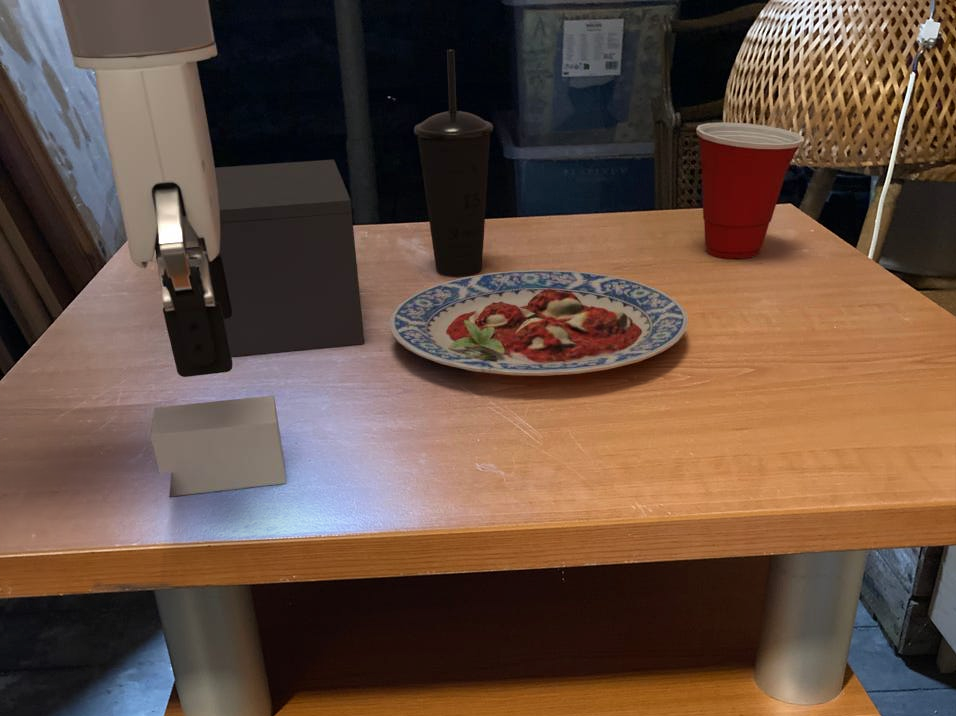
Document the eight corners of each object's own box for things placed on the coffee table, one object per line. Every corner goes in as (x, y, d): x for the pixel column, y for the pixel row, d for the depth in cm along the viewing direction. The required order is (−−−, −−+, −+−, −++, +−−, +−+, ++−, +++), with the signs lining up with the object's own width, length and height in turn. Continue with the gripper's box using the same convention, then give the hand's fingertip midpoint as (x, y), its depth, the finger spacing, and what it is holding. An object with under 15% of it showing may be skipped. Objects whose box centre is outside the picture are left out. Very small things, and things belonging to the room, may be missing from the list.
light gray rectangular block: (165, 497, 66) (150, 435, 64) (168, 467, 70) (154, 407, 67) (286, 483, 67) (276, 421, 65) (283, 454, 71) (273, 394, 68)
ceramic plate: (589, 277, 101) (590, 247, 100) (747, 360, 83) (752, 325, 81) (350, 320, 93) (347, 288, 91) (466, 424, 74) (465, 385, 72)
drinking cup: (407, 271, 105) (392, 52, 93) (457, 254, 109) (449, 43, 97) (459, 286, 100) (451, 57, 88) (510, 267, 105) (508, 48, 93)
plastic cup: (795, 266, 103) (816, 138, 96) (689, 267, 103) (702, 140, 96) (777, 237, 111) (794, 117, 104) (679, 237, 112) (690, 119, 105)
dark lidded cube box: (203, 359, 86) (174, 213, 79) (206, 301, 99) (181, 169, 91) (364, 344, 88) (350, 199, 81) (347, 288, 101) (334, 159, 93)
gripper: (85, 19, 59) (155, 307, 69) (42, 52, 45) (136, 405, 56) (214, 10, 60) (263, 296, 70) (209, 40, 46) (272, 389, 57)
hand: (207, 344), depth 63 cm, fingers open, 9 cm apart
